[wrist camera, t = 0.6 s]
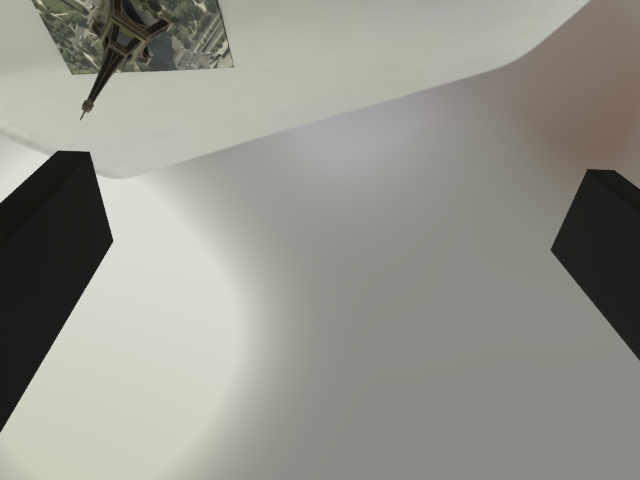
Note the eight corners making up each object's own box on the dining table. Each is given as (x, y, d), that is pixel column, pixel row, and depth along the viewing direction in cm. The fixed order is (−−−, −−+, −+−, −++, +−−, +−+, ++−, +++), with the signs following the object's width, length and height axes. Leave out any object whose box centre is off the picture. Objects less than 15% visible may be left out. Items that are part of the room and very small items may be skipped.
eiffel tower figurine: (205, -59, 32) (166, 31, 24) (233, 67, 40) (212, 166, 32) (9, -48, 33) (-94, 44, 24) (76, 74, 41) (15, 174, 33)
